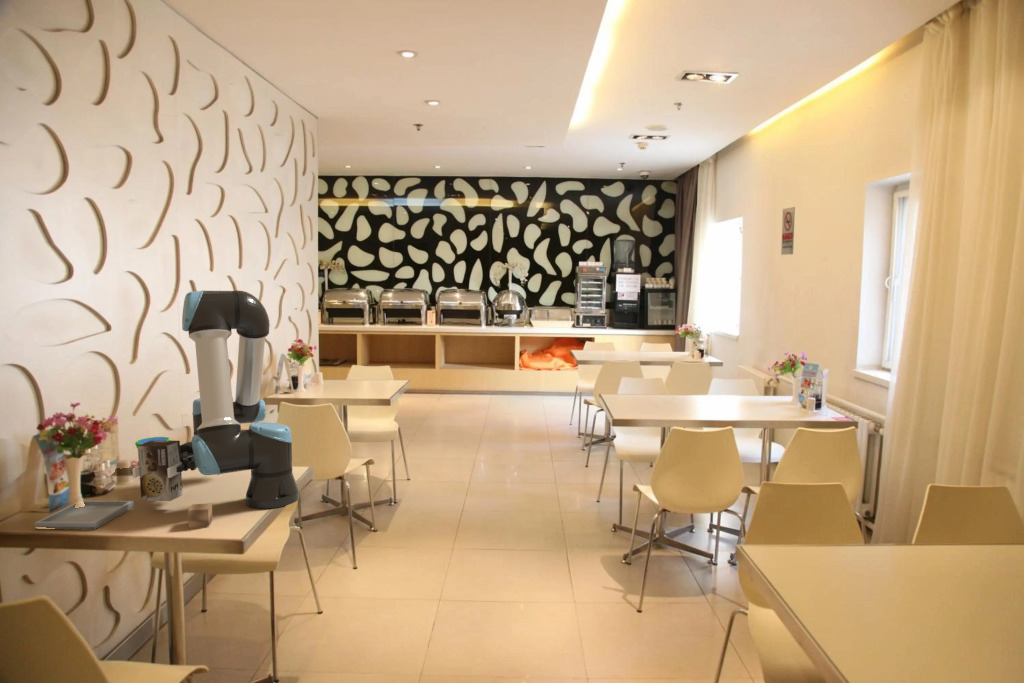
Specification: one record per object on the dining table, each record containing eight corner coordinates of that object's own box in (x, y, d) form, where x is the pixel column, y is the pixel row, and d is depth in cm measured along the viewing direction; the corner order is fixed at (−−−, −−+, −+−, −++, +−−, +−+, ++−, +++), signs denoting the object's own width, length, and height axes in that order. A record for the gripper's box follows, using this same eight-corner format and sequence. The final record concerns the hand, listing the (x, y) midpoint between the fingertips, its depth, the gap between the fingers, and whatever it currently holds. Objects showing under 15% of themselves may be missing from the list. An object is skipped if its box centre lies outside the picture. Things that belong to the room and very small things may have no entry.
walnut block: (212, 520, 184) (211, 503, 184) (208, 527, 179) (208, 509, 179) (192, 522, 183) (192, 504, 183) (188, 528, 178) (187, 510, 178)
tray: (134, 506, 195) (133, 500, 195) (94, 530, 177) (93, 523, 177) (80, 506, 195) (79, 500, 195) (34, 529, 177) (34, 522, 177)
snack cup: (131, 466, 236) (129, 438, 235) (163, 461, 243) (162, 433, 242) (144, 476, 225) (142, 446, 224) (177, 470, 232) (176, 441, 231)
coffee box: (183, 494, 195) (181, 440, 193) (170, 501, 188) (167, 445, 187) (153, 494, 195) (151, 439, 194) (139, 501, 189) (136, 444, 188)
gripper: (227, 465, 209) (190, 486, 186) (157, 465, 209) (113, 486, 187) (226, 441, 208) (189, 459, 186) (156, 441, 209) (112, 459, 186)
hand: (151, 473), depth 186 cm, fingers closed on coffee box, 9 cm apart
